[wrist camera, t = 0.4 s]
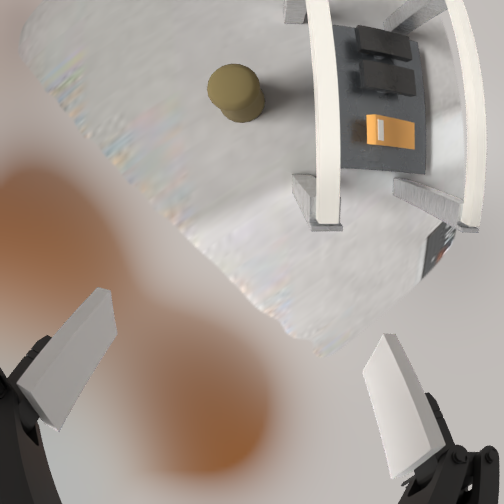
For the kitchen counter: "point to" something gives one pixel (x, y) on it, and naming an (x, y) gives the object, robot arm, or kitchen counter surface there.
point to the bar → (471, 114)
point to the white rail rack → (380, 108)
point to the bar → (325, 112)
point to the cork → (236, 92)
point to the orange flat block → (390, 132)
